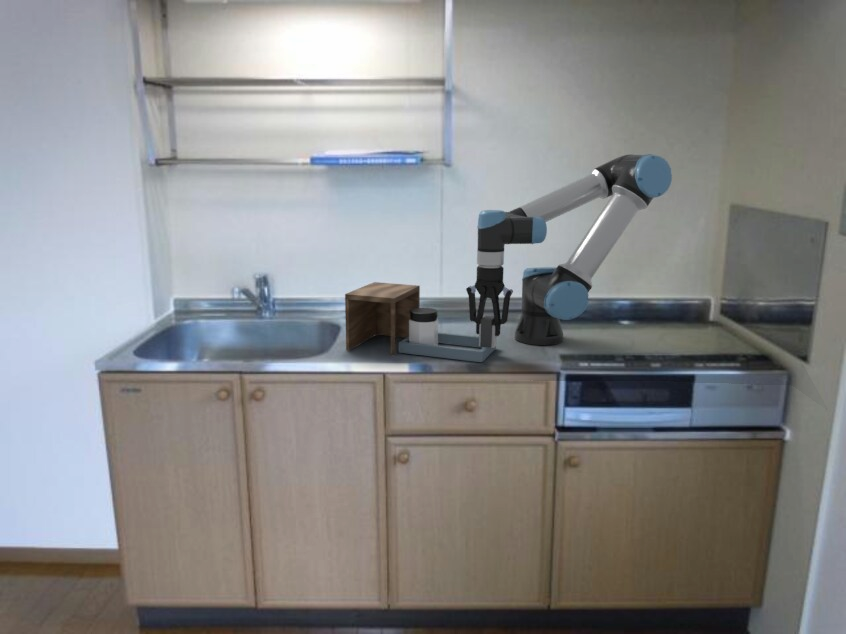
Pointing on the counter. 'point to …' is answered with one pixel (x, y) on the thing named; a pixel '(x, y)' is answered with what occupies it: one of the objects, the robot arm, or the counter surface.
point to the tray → (456, 340)
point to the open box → (379, 312)
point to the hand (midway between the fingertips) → (487, 345)
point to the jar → (423, 326)
